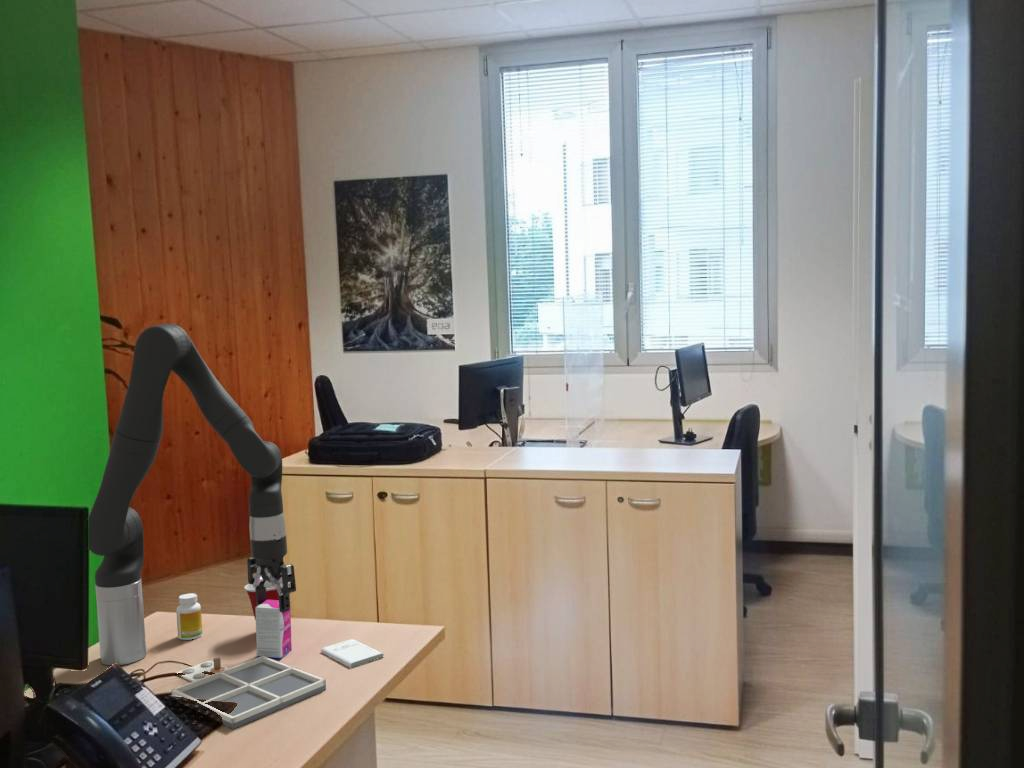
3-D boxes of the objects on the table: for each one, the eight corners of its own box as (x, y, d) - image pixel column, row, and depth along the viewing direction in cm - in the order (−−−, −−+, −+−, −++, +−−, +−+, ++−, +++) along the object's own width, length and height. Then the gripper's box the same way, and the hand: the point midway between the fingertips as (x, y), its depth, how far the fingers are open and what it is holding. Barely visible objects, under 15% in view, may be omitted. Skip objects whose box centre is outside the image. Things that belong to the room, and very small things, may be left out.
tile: (175, 674, 189) (174, 661, 189) (209, 662, 195) (209, 649, 195) (196, 683, 184) (195, 670, 184) (230, 670, 190) (229, 658, 190)
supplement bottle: (207, 635, 212) (204, 594, 211) (186, 642, 207) (183, 601, 207) (194, 630, 215) (191, 590, 214) (173, 637, 211) (170, 597, 210)
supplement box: (281, 660, 195) (278, 608, 194) (256, 659, 196) (253, 607, 195) (293, 650, 200) (290, 599, 199) (268, 649, 202) (265, 598, 201)
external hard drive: (350, 670, 189) (321, 654, 199) (383, 660, 195) (353, 644, 204) (350, 663, 189) (320, 647, 199) (383, 652, 195) (353, 637, 204)
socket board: (171, 699, 177) (171, 689, 176) (263, 665, 192) (263, 655, 192) (232, 729, 163) (232, 718, 163) (326, 689, 179) (325, 679, 179)
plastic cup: (270, 621, 220) (268, 572, 219) (304, 627, 215) (301, 578, 214) (236, 635, 211) (233, 585, 210) (270, 643, 205) (267, 591, 204)
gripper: (234, 534, 198) (239, 606, 199) (272, 542, 188) (278, 618, 190) (263, 527, 203) (268, 597, 205) (302, 535, 194) (307, 608, 195)
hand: (273, 607), depth 197 cm, fingers open, 8 cm apart
